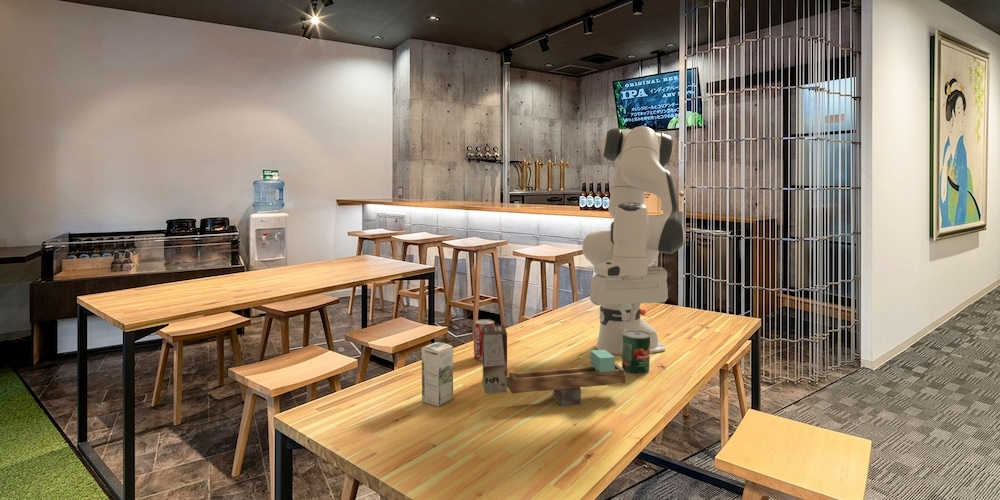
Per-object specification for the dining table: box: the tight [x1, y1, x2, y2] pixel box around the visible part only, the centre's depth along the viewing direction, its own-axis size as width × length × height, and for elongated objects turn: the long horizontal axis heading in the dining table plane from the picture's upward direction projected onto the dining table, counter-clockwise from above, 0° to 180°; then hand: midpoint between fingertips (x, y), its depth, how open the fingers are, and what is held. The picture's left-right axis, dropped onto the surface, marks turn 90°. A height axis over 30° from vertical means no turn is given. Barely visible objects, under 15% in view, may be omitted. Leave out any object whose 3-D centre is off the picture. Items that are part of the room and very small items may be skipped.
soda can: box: [473, 318, 496, 362], centre depth 169 cm, size 7×7×12 cm
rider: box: [589, 349, 616, 372], centre depth 137 cm, size 4×6×5 cm, turn 12°
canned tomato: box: [621, 330, 651, 376], centre depth 157 cm, size 8×8×11 cm
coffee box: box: [482, 324, 508, 394], centre depth 145 cm, size 9×6×16 cm
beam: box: [507, 362, 627, 407], centre depth 136 cm, size 30×7×8 cm, turn 102°
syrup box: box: [421, 341, 454, 407], centre depth 136 cm, size 6×6×14 cm
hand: (628, 320), depth 137 cm, fingers closed
